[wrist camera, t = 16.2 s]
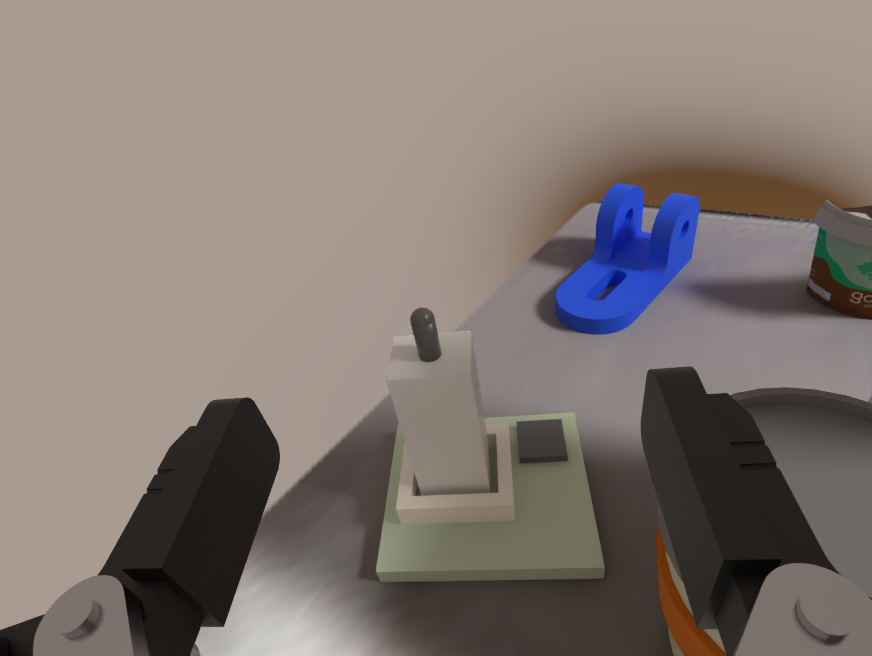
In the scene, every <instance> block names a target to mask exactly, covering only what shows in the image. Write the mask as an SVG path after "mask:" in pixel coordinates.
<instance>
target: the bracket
mask: <svg viewBox="0 0 872 656" xmlns="http://www.w3.org/2000/svg"><path fill="white" fill-rule="evenodd" d="M643 203H644V197H643V192H642V190H641V188H640V187H637V186H632V185H626V184H621V183H618V184H615V185H614V186H613V187H612V188H611V189H610V190H609V191H608V192H607V194H606V196H605V198H604V199H603V201H602V204H601V206H600V209H599V213H598V217H597V223H596V245H595V250H594V252H593V255H592V256H591V258H590V259H589V260H588V261H587V262H586V263H584V264H583V265H582V266H581V267H580V268H579V269H578V270H577V271H576V272H574V273H573V274H572V275H571V276H570V277H569V278H568V279H567V280H566V281H564V282H563V283H562V284H561V285H560V286H559V288H558V289H557V292H556V313H557V316H558V318H559V319H560V321H561V322H562V323H563V324H565V325H566V326H567V327H569V328H571V329H573V330H576V331H578V332H582V333H587V334H609V333H614V332H617V331H620V330H622V329H625V328H626V327H628V326H629V325H631V324H632V323H633V322H634V321H635V320H636V318H637V317H638V316H639V315H640V314H641V313H642V312H643V311H644V310H645V309H646V307H647V306H648V305H649V304H650V303H651V302H652V301H653V300H654V299H655V298H656V296H657V295H658V294H659V293H660V292H661V291H662V290H663V289H664V288H665V287H666V285H667V284H668V283H669V282H670V281H671V280H672V279H673V278H674V277H675V276H676V274H677V273H678V272H679V271H680V270H681V269H682V268H683V267H684V266H685V265H686V263H687V262H688V261H689V260H690V259H691V257H692V251H693V245H694V239H695V233H696V228H697V222H698V216H699V201H698V198H697V197H694V196H689V195H683V194H677V193H673V194H671V195H669V196H668V197H667V199H666V200H665V201H664V203H663V204H662V206H661V208H660V210H659V212H658V214H657V216H656V219H655V222H654V225H653V228H652V232H651V234H650V233H646V232H642V231H641V225H642V214H643ZM614 284H617V285H618V286H617V287H616V288H615V289H614V290H613V291H612V292H611V293H610V294H609V295H608V296H607V297H606V298H605V299H603V300H599V301H595V300H594V299H595V298H596V297H597V296H598V295H599V294H600V293H601V292H603V291H604V290H605V289H606V288H607V287H608V286H610V285H614Z"/></svg>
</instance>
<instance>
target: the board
mask: <svg viewBox="0 0 872 656" xmlns="http://www.w3.org/2000/svg"><path fill="white" fill-rule="evenodd" d="M485 425H486V431H487V438H488V444H489V451H490V460H491V493H478V494H453V495H428V496H421V492H420V489H419V486H418V483H417V479H416V476H415V473H414V470H413V466H412V463H411V460H410V457H409V453H408V450H407V447H406V444H405V440H404V437H403V434H402V431H401V427H400V424H399V423H398V426H397V433H396V440H395V446H394V453H393V460H392V466H391V473H390V480H389V487H388V493H387V500H386V507H385V513H384V520H383V527H382V533H381V540H380V547H379V553H378V560H377V567H376V573H377V576H378V578H379V580H380V582H430V581H492V580H555V579H604V572H605V566H604V561H603V556H602V551H601V545H600V540H599V535H598V530H597V525H596V520H595V515H594V510H593V505H592V500H591V495H590V490H589V485H588V480H587V474H586V469H585V464H584V459H583V454H582V449H581V444H580V439H579V434H578V429H577V424H576V419H575V414H574V413H557V414H541V415H525V416H509V417H493V418H485Z"/></svg>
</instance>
